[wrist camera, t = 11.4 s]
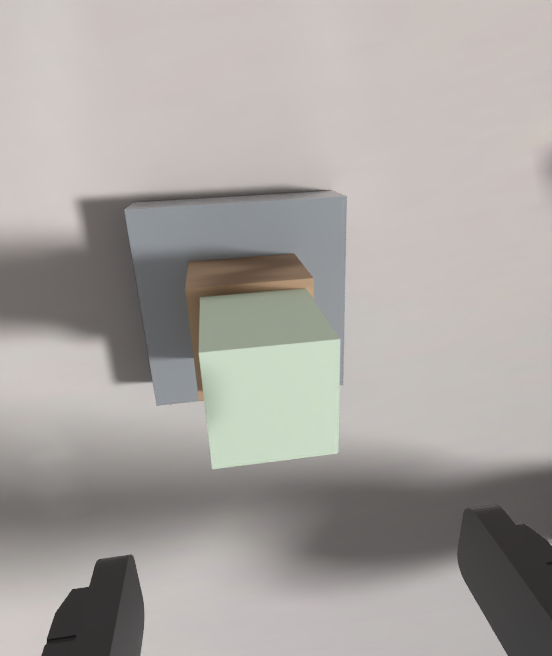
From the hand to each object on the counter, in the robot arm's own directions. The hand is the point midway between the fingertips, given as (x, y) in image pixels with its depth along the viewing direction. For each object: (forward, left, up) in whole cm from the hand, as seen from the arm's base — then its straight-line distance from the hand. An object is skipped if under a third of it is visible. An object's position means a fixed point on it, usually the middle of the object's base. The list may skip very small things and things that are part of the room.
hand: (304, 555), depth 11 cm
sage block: (0, 0, -13) cm, 13 cm away
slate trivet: (0, 0, -21) cm, 21 cm away
